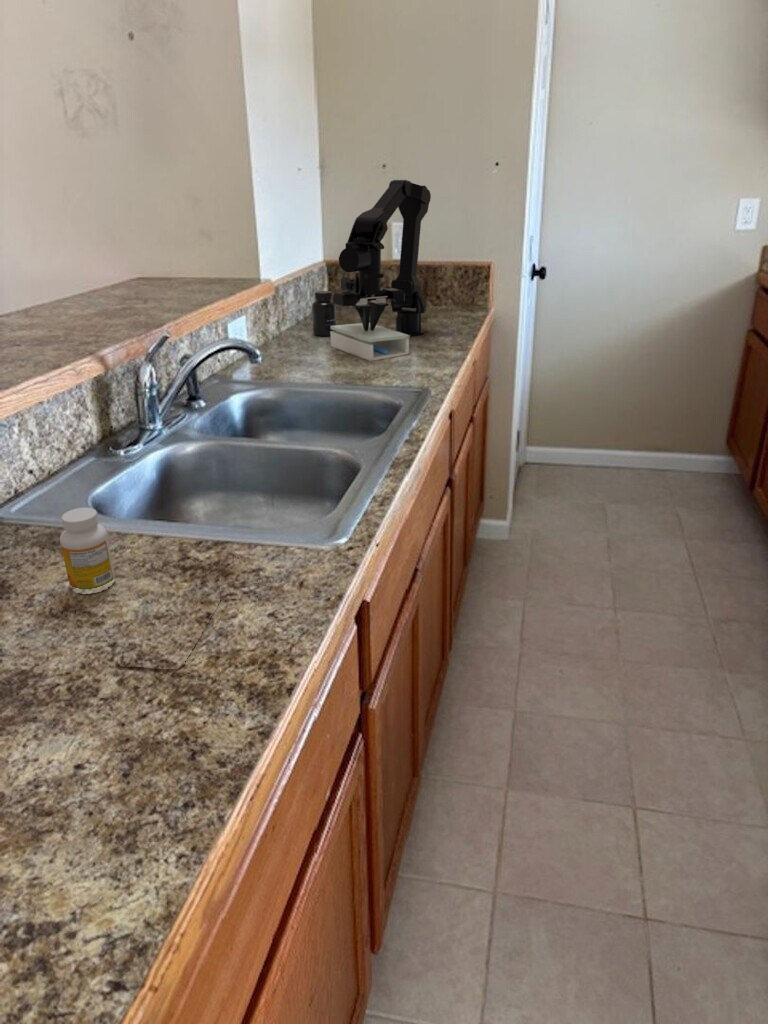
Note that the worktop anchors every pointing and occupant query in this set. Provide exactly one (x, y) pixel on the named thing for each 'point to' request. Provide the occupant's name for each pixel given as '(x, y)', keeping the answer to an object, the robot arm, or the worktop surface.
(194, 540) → the worktop surface
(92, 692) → the worktop surface
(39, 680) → the worktop surface
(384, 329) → the duct cover
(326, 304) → the supplement bottle
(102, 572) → the supplement bottle
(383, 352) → the cable duct
